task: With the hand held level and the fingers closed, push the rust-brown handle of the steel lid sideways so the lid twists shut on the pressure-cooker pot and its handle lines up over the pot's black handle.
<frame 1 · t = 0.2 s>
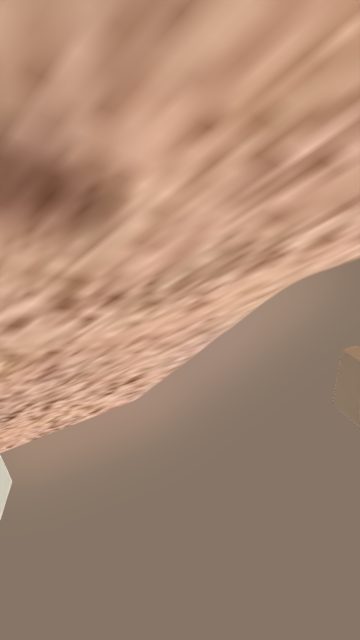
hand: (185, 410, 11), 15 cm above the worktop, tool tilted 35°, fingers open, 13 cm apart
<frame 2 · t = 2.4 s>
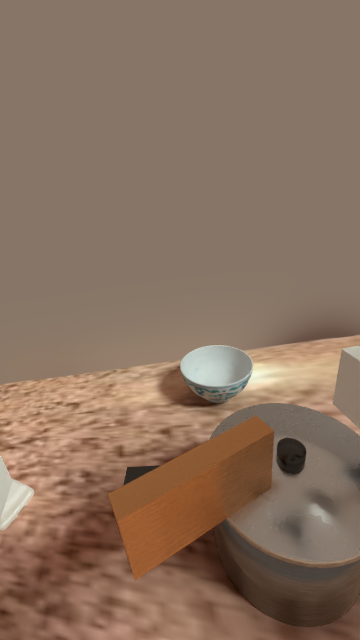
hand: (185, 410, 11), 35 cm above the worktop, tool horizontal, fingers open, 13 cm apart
pot: (283, 533, 39), on the worktop
chinaware: (217, 393, 66), on the worktop
lid: (258, 460, 30), point 17 cm above the worktop, hinge at 30.0°
soap: (1, 504, 47), on the worktop
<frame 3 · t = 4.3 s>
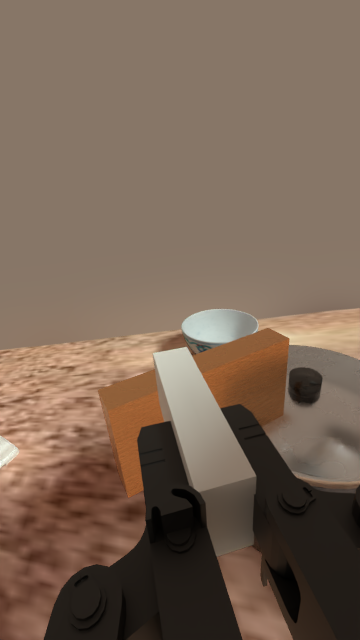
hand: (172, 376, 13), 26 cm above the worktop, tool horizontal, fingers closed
chinaware: (220, 357, 62), on the worktop
lid: (269, 381, 27), point 17 cm above the worktop, hinge at 30.0°
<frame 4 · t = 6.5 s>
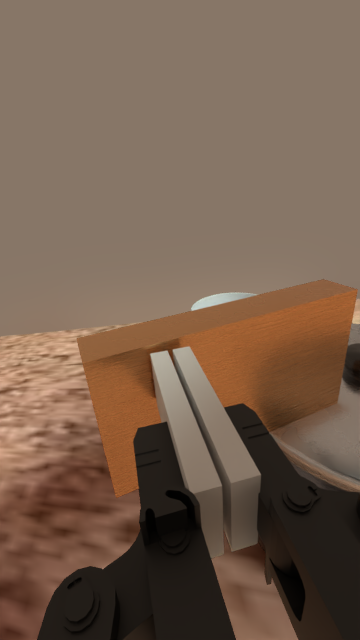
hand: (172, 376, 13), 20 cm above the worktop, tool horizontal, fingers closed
pot: (338, 496, 28), on the worktop
chinaware: (234, 347, 55), on the worktop
lid: (320, 354, 19), point 17 cm above the worktop, hinge at 25.5°, touching gripper
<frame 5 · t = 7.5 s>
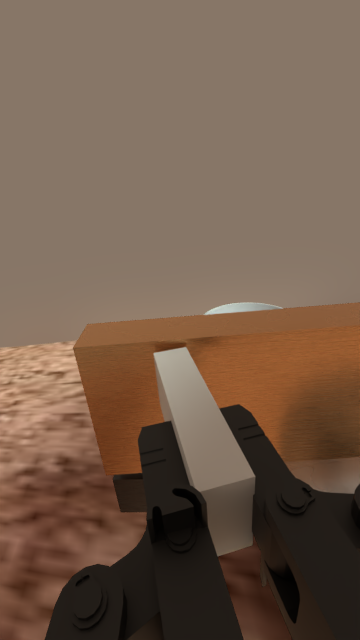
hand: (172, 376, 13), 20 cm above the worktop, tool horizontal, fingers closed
chinaware: (247, 363, 49), on the worktop
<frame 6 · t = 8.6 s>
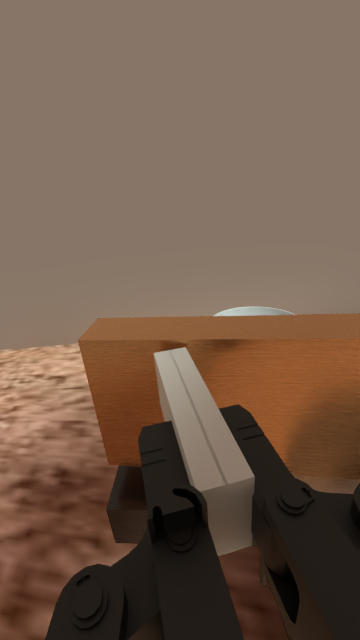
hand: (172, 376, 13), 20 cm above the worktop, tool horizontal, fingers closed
chinaware: (254, 370, 48), on the worktop
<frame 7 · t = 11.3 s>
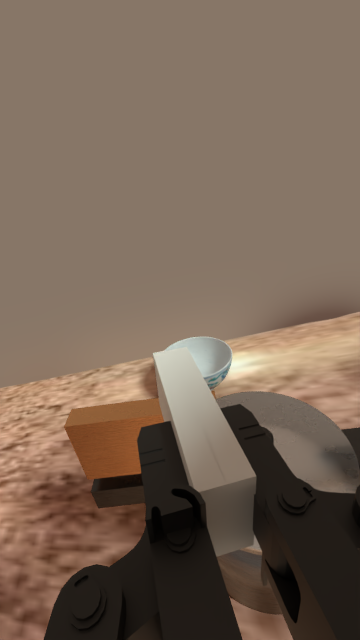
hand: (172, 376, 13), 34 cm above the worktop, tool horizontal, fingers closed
pot: (263, 521, 39), on the worktop
chinaware: (200, 385, 65), on the worktop
lid: (212, 433, 31), point 17 cm above the worktop, hinge at -0.4°
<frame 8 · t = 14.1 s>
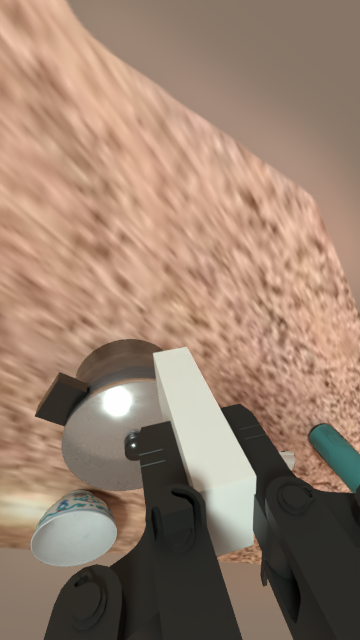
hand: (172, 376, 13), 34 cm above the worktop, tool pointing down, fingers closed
beverage bottle: (316, 428, 70), on the worktop
pot: (127, 384, 53), on the worktop
chinaware: (78, 500, 62), on the worktop
lid: (167, 470, 40), point 17 cm above the worktop, hinge at -0.4°
soap: (275, 463, 72), on the worktop
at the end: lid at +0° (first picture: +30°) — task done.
